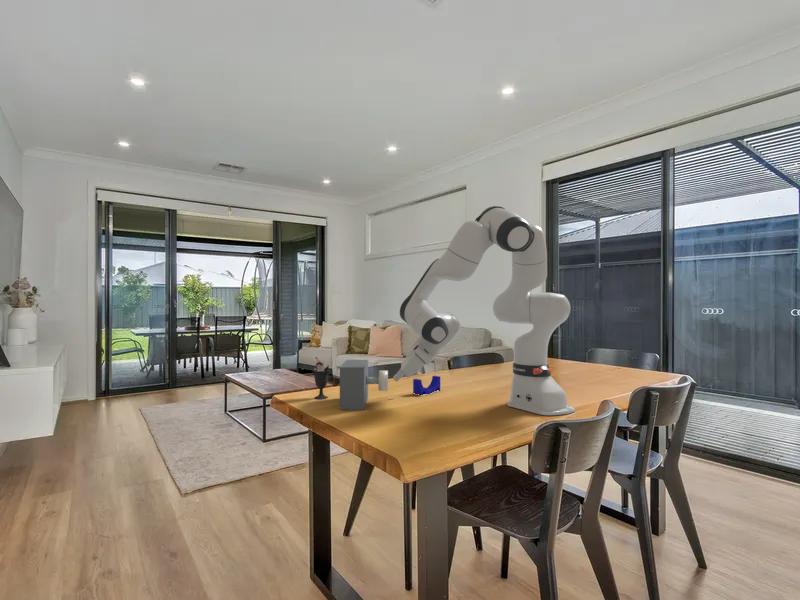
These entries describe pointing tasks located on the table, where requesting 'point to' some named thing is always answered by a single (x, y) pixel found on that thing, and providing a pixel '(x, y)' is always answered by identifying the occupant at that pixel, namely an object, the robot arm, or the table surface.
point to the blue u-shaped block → (431, 388)
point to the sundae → (321, 378)
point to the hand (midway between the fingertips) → (394, 379)
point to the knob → (379, 380)
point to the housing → (353, 385)
